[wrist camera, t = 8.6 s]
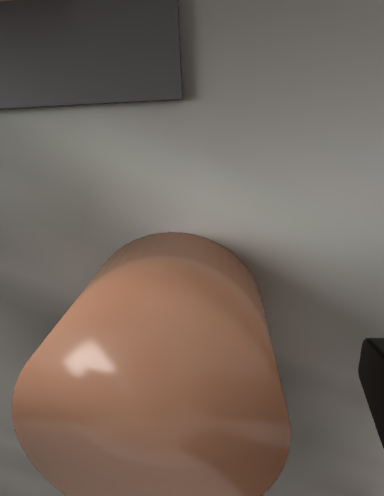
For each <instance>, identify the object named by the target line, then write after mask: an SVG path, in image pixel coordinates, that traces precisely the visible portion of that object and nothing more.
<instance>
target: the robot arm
mask: <svg viewBox="0 0 384 496" xmlns="http://www.w3.org/2000/svg"><path fill="white" fill-rule="evenodd" d="M358 372H359V378H360V381H361V384H362V387H363V390H364V393H365V396H366V399H367V402H368V405H369V408H370V411H371V414H372V417H373V420H374V423H375V426H376V429H377V432H378V434H379V437H380V440H381V443H382V445H383V448H384V338H366V339H365V340H364V341H363V343H362V349H361V355H360V361H359V368H358Z"/></svg>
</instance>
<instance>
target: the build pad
mask: <svg viewBox="0 0 384 496" xmlns="http://www.w3.org/2000/svg"><path fill="white" fill-rule="evenodd" d="M179 99H183V94H182V74H181V53H180V33H179V13H178V0H10V1H0V109H8V108H27V107H46V106H65V105H84V104H103V103H122V102H141V101H160V100H179Z"/></svg>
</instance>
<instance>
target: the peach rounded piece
mask: <svg viewBox="0 0 384 496" xmlns="http://www.w3.org/2000/svg"><path fill="white" fill-rule="evenodd" d="M12 416H13V422H14V427H15V431H16V434H17V437H18V439H19V442H20V444H21V446H22V448H23V450H24V452H25V453H26V455H27V457H28V458H29V460H30V461H31V462H32V464H33V465H34V467H35V468H36V469H37V470H38V471H39V472H40V473H41V474H42V476H43V477H44V478H45V479H46V480H47V481H49V482H50V483H51V484H52V485H53V486H54V487H55V488H57V489H58V490H59V491H61V492H62V493H64V494H65V495H66V496H262V495H263V494H264V493H265V492H266V491H267V490H268V489H269V488H270V487H271V486H272V485H273V483H274V482H275V481H276V480H277V478H278V476H279V475H280V473H281V471H282V469H283V468H284V465H285V462H286V460H287V457H288V454H289V448H290V442H291V428H290V422H289V417H288V412H287V407H286V403H285V399H284V394H283V390H282V386H281V382H280V377H279V373H278V369H277V365H276V360H275V356H274V352H273V347H272V343H271V339H270V335H269V330H268V326H267V322H266V317H265V313H264V309H263V305H262V300H261V296H260V292H259V290H258V287H257V284H256V282H255V280H254V278H253V276H252V275H251V273H250V272H249V270H248V269H247V268H246V266H245V265H244V264H243V263H242V262H241V261H240V260H239V259H238V258H237V257H236V256H235V255H234V254H233V253H231V252H230V251H229V250H228V249H226V248H224V247H223V246H221V245H219V244H218V243H215V242H213V241H211V240H209V239H206V238H203V237H200V236H197V235H192V234H186V233H175V232H167V233H157V234H152V235H148V236H144V237H142V238H139V239H136V240H134V241H132V242H130V243H128V244H126V245H125V246H123V247H122V248H120V249H119V250H118V251H116V252H115V253H114V254H113V255H112V256H111V257H110V258H109V259H108V260H107V262H106V263H105V264H104V265H103V267H102V268H101V269H100V270H99V272H98V273H97V274H96V276H95V277H94V278H93V279H92V281H91V282H90V283H89V284H88V286H87V287H86V288H85V289H84V291H83V292H82V293H81V294H80V296H79V297H78V298H77V299H76V301H75V302H74V303H73V304H72V306H71V307H70V308H69V310H68V311H67V312H66V313H65V315H64V316H63V317H62V318H61V320H60V321H59V322H58V323H57V325H56V326H55V327H54V328H53V330H52V331H51V332H50V333H49V335H48V336H47V337H46V339H45V340H44V341H43V342H42V344H41V345H40V346H39V347H38V349H37V350H36V351H35V352H34V354H33V355H32V356H31V358H30V359H29V360H28V361H27V363H26V364H25V365H24V367H23V369H22V371H21V373H20V375H19V377H18V379H17V382H16V385H15V388H14V392H13V400H12Z"/></svg>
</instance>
